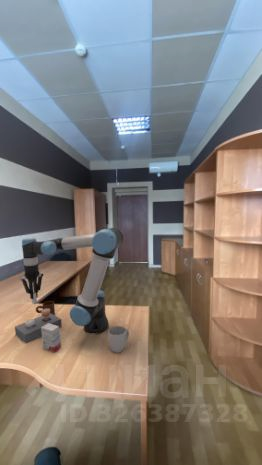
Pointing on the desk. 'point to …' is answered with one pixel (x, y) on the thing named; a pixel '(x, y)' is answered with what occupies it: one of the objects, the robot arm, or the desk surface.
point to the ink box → (51, 337)
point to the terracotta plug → (46, 314)
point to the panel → (35, 328)
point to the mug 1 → (47, 305)
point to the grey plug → (30, 323)
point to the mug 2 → (117, 338)
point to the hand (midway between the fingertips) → (34, 303)
